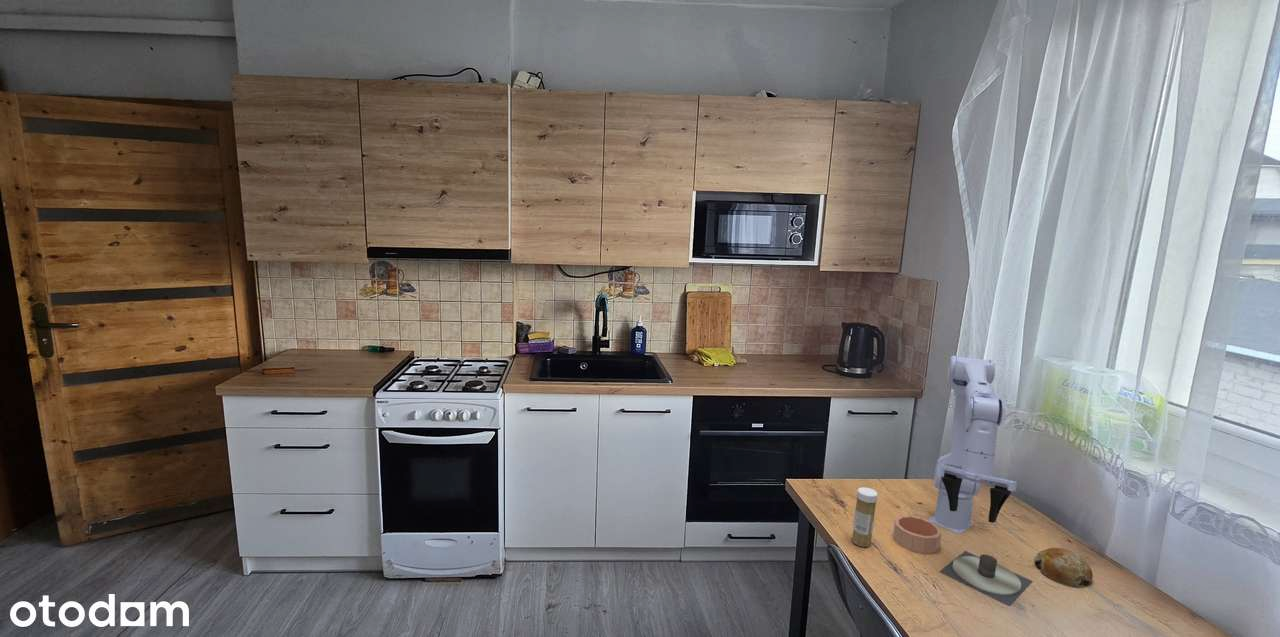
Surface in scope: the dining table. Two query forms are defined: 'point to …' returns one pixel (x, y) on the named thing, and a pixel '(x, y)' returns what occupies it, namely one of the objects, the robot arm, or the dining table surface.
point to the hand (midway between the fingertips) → (972, 516)
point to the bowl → (917, 534)
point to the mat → (1004, 599)
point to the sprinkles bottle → (864, 517)
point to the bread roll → (1064, 567)
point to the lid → (986, 575)
